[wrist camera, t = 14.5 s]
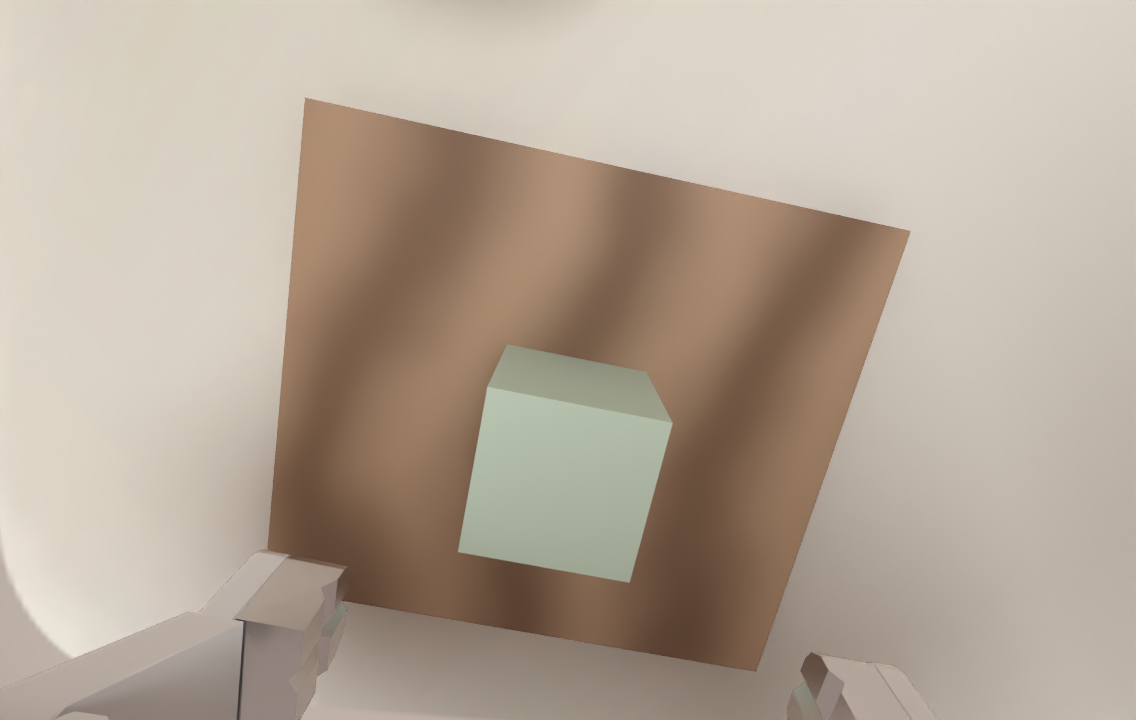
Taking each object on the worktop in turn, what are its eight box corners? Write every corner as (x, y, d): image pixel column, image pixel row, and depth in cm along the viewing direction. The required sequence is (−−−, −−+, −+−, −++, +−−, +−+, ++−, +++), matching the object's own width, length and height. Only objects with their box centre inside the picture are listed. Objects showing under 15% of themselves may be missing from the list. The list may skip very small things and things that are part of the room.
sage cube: (646, 372, 20) (672, 423, 15) (614, 497, 21) (629, 582, 16) (506, 344, 19) (487, 386, 15) (483, 473, 21) (457, 552, 16)
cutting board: (890, 230, 20) (910, 231, 19) (746, 649, 24) (756, 671, 23) (321, 105, 19) (305, 97, 17) (279, 568, 23) (264, 587, 22)
